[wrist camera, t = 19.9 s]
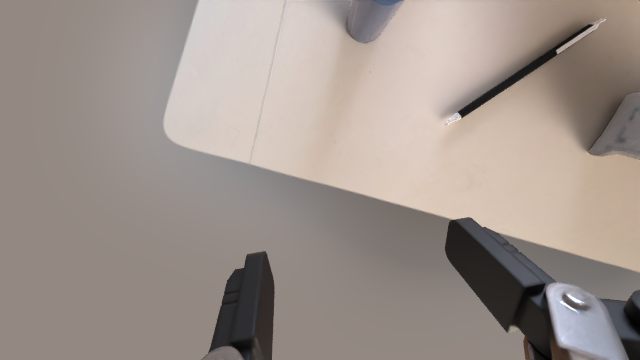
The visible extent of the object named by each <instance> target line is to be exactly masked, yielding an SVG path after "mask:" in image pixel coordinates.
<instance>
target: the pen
mask: <svg viewBox="0 0 640 360" xmlns="http://www.w3.org/2000/svg"><path fill="white" fill-rule="evenodd" d="M605 20H606V18H605V17H603V18H602V19H600V20H599V21H597V22H596V23H590V24H588V25H587V26H585V27H584V28H582V29H581V30H579V31H578V32H576V33H575V34H573V35H572V36H570V37H569V38H567V39H566V40H564V41H563V42H561V43H560V44H558V45H557V46H555V47H554V48H552V49H551V50H549V51H548V52H546V53H545V54H543V55H542V56H540V57H539V58H537V59H536V60H535V61H533V62H532V63H530V64H529V65H527V66H526V67H524V68H523V69H521V70H520V71H518V72H517V73H515V74H514V75H512V76H511V77H509V78H508V79H506V80H505V81H503V82H502V83H500V84H499V85H497V86H496V87H494V88H493V89H491V90H490V91H488V92H487V93H485V94H484V95H482V96H481V97H479V98H478V99H476V100H475V101H473V102H472V103H470V104H469V105H467V106H466V107H464V108H463V109H461V110H460V111H458V112H457V113H455V114H454V115H453V116H452V117H451V118H450V119H449V120H448V121H447V122H446V124H445V125H448V124H450V123H452V122H455V121H457V120H459V119H461V118H463V117H464V116H466V115H467V114H469V113H471V112H472V111H474V110H475V109H477V108H478V107H480V106H481V105H483V104H484V103H486V102H487V101H489V100H490V99H492V98H493V97H495V96H496V95H498V94H499V93H501V92H502V91H504V90H505V89H507V88H508V87H510V86H511V85H513V84H514V83H516V82H517V81H519V80H520V79H522V78H523V77H525V76H526V75H528V74H529V73H531V72H532V71H534V70H535V69H537V68H538V67H540V66H541V65H543V64H544V63H546V62H547V61H549V60H550V59H552V58H553V57H555V56H556V55H558V54H559V53H561V52H563V51H564V50H566V49H567V48H569V47H570V46H572V45H573V44H575V43H576V42H578V41H579V40H581V39H582V38H584V37H585V36H587V35H588V34H590V33H591V32H593V31H594V30H596V28H598V25H599V24H600V23H602V22H603V21H605Z"/></svg>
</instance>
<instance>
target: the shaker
mask: <svg viewBox="0 0 640 360" xmlns="http://www.w3.org/2000/svg"><path fill="white" fill-rule="evenodd" d="M404 2H405V0H352V4H351V7H350V10H349V14H348V17H347V28H348V31H349V33H350V35H351V36H352V37H353V38H354V39H355V40H357V41H359V42H362V43H368V42H371V41H374V40H375V39H376V38H378V37H379V35H380V34H381V33H382V31H383V30H384V29H385V27H386V26H387V25H388V23H389V22H390V21H391V19H392V18H393V16H394V15H395V14H396V12H397V11H398V10H399V8H400V7H401V6H402V4H403V3H404Z"/></svg>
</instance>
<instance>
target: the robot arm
mask: <svg viewBox="0 0 640 360" xmlns="http://www.w3.org/2000/svg"><path fill="white" fill-rule="evenodd" d="M445 251H446V255H447V258H448V259H449V261H450V262H451V264H452V265H453V266H454V267H455V269H456V270H457V271H458V272H459V274H460V275H461V276H462V277H463V278H464V280H465V281H466V282H467V283H468V285H469V286H470V287H471V288H472V290H473V291H474V292H475V293H476V295H477V296H478V297H479V298H480V300H481V301H482V302H483V303H484V305H485V306H486V307H487V308H488V310H489V311H490V312H491V313H492V314H493V316H494V317H495V318H496V319H497V321H498V322H499V323H500V324H501V326H502V327H503V328H504V329H505V331H506V332H507V333H509V332H514V331H519V330H521V331H522V333H523V334H524V335H525V338H524V350H525V359H526V360H640V290H638V291H635V292H633V294H632V295H631V296H630V298H629V299H628V301H619V300H610V299H599V298H597V297H596V296H594V295H593V294H591V293H590V292H588V291H586V290H585V289H582V288H580V287H578V286H575V285H572V284H568V283H562V282H556V281H555V280H554V279H552V278H551V277H550V276H549V275H547V274H546V273H545V272H544V271H543V270H542V269H540V268H539V267H538V266H537V265H535V264H534V263H533V262H532V261H531V260H529V259H528V258H527V257H526V256H525V255H523V254H522V253H521V252H518V250H517V249H516V248H515V247H514V246H513V245H510V244H509V242H508V241H507V240H505V239H504V238H503V237H502V236H500V235H499V234H498V233H496V232H494V231H492V230H490V229H488V228H486V227H481V226H480V225H479V224H478V223H477V222H476V221H474V220H473V219H472V218H469V217H467V218H461V219H456V220H451V221H450V222H449V226H448V232H447V239H446V245H445ZM273 316H274V280H273V275H272V272H271V268H270V264H269V260H268V257H267V254H266V252H265V251H264V252H258V253H252V254H247V256H246V260H245V266H244V268H241V269H235V271H234V272H233V273H232V275H231V276H230V278H229V279H228V280H227V284H226V288H225V292H224V296H223V300H222V306H221V308H220V312H219V316H218V319H217V324H216V327H215V332H214V335H213V339H212V343H211V347H210V350H209V352H208V354H207V355H206V356H205V357H204V358H203V359H202V360H272V340H273Z"/></svg>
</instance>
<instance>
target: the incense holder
mask: <svg viewBox="0 0 640 360" xmlns="http://www.w3.org/2000/svg"><path fill="white" fill-rule="evenodd" d="M588 153H590V154H591V155H595V156H606V155H613V154H620V155H624V156H628V157H632V158H635V159H639V160H640V92H635V93H630V94H628V95H627V96H626V97H625V98H624V100H623V101H622V103H621V104H620V106H619V107H618V109H617V111H616V113H615V115H614V116H613V118H612V119H611V121H610V122H609V124H608V125H607V127H606V128H605V130H604V132H603V134H602V135H601V136H600V137H599V138H598V139H597V141H596V142H595V144H594V145H593V147H592V148H591V149H590V150H589V151H588Z"/></svg>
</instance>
